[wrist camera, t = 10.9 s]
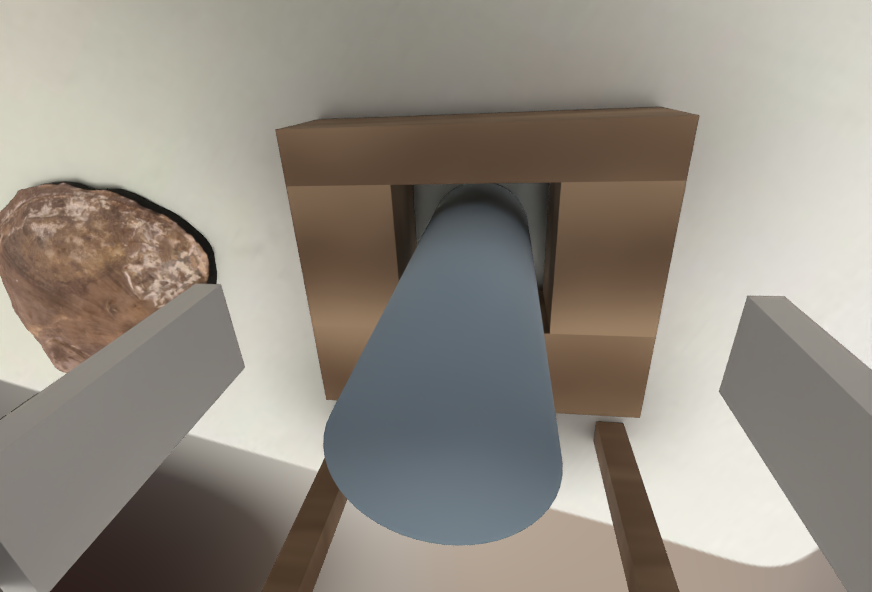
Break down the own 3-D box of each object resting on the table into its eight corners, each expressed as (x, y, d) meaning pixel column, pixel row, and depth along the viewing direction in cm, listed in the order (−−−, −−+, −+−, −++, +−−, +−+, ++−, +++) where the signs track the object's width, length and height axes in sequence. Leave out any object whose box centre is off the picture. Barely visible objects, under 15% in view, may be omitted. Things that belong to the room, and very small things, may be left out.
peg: (434, 273, 22) (340, 534, 10) (429, 182, 20) (305, 360, 8) (526, 274, 21) (553, 555, 9) (530, 180, 19) (573, 372, 7)
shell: (19, 325, 28) (-43, 357, 25) (22, 132, 22) (-60, 142, 19) (192, 404, 29) (153, 445, 26) (238, 239, 23) (194, 266, 20)
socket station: (295, 120, 20) (-403, 274, 5) (687, 105, 17) (1907, 322, 2) (347, 428, 27) (151, 867, 12) (624, 447, 25) (804, 1017, 10)
